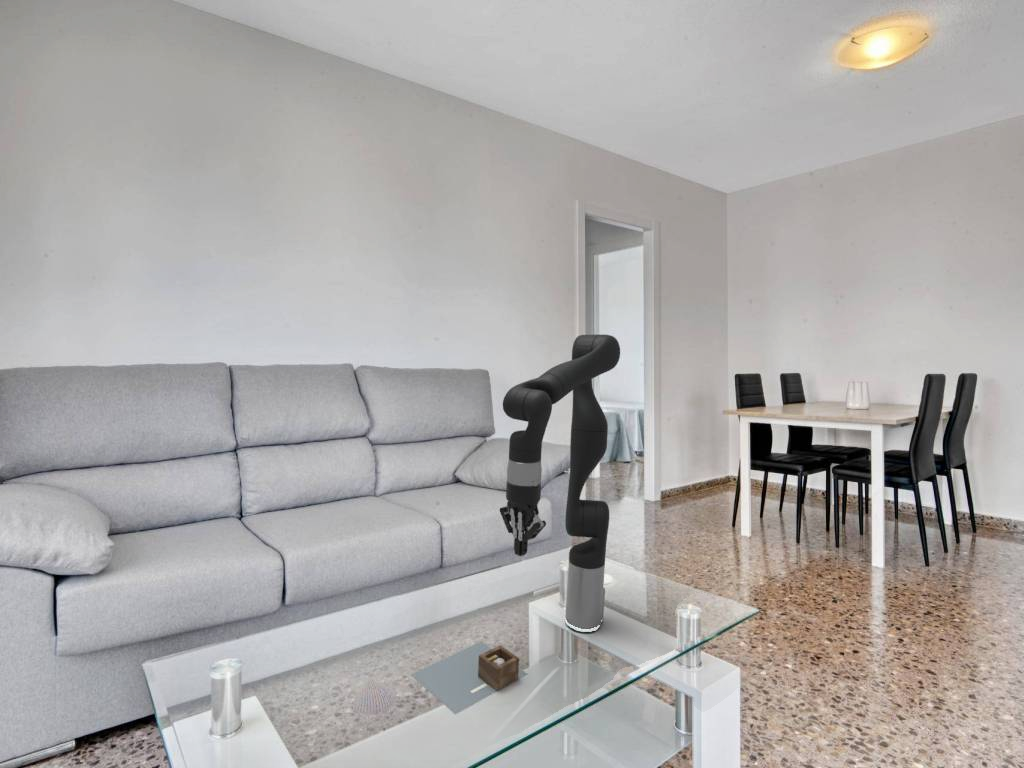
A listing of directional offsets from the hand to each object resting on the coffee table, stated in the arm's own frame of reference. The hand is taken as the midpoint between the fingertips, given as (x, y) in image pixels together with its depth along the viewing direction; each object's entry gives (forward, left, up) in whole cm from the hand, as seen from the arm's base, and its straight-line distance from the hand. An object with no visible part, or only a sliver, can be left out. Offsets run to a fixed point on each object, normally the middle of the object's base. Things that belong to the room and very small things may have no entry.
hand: (520, 554), depth 131 cm
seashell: (+31, -9, -28) cm, 43 cm away
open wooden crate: (+7, +2, -26) cm, 27 cm away
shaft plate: (+11, -3, -27) cm, 29 cm away
